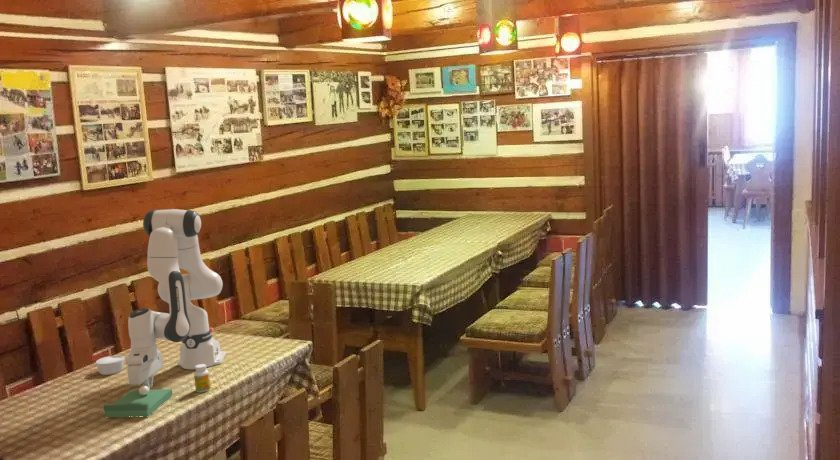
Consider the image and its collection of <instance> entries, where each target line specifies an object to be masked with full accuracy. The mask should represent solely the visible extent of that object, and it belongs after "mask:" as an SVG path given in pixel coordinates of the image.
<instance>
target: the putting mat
mask: <svg viewBox="0 0 840 460" xmlns="http://www.w3.org/2000/svg"><path fill="white" fill-rule="evenodd" d="M172 395H174V394H173V389H171V388H169V389H168V388H167V389H166V388H165V389H163V388H161V389H149V393H148V394H147V395H145V396H143V395H141V394H140V393H139V389H130V390H129V391H128V392H127V393H126V394H124V395H123V396H122V397H120V398H119V399H118V400H117V401H115V402H114V403H113V404H103V413H104V418H106V417H127V418H132V417H131V416H134V417H133V418H136V417H135V416H138V417H137V418H140V417H139V416H143V417H142V418H148V417H147V416H149V415H150V414H151V413H152V412H153V411H154V412H156V411H157V410H158V409H159V408H160V407H161V406H162V405H164V404H165V403H166V402H167V401H168V400H170V399H171V398H172V397H173V396H172ZM171 396H172V397H171ZM165 401H166V402H165ZM164 402H165V403H164ZM163 403H164V404H163ZM161 404H162V405H161ZM160 405H161V406H160ZM159 406H160V407H159ZM158 407H159V408H158ZM157 408H158V409H157ZM156 409H157V410H156ZM155 410H156V411H155ZM154 412H153V413H154ZM153 413H152V414H153ZM152 414H151V415H152ZM151 415H150V416H151ZM129 416H130V417H129ZM150 416H149V417H150ZM106 419H107V418H106Z"/></svg>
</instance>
